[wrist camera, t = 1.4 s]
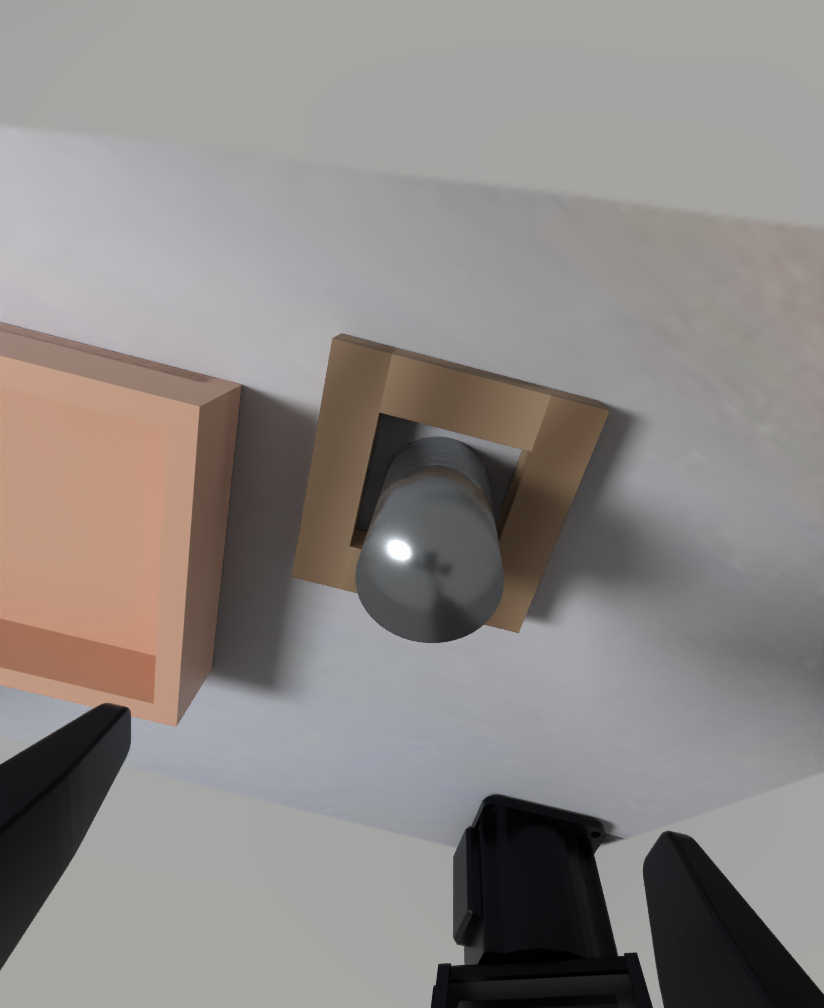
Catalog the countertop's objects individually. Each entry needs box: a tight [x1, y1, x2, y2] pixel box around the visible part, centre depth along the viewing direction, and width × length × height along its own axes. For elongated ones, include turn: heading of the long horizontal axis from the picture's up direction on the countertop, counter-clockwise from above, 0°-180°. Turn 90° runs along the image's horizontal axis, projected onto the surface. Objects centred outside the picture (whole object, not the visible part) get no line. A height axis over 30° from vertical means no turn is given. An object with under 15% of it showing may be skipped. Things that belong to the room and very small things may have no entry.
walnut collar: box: [292, 333, 609, 633], centre depth 20 cm, size 9×9×2 cm
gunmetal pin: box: [355, 437, 504, 643], centre depth 17 cm, size 4×4×7 cm
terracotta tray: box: [0, 322, 242, 727], centre depth 20 cm, size 14×14×4 cm
